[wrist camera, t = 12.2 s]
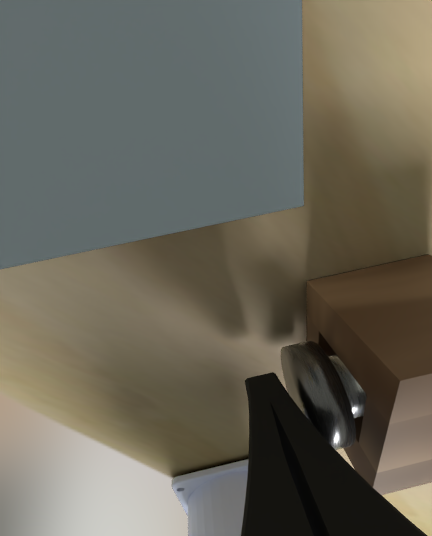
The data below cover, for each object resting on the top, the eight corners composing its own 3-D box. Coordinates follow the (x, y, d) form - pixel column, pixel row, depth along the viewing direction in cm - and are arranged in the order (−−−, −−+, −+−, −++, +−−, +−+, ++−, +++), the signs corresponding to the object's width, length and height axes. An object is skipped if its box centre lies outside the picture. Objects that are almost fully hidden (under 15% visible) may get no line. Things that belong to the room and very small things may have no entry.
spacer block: (227, 169, 9) (304, 205, 3) (114, 192, 8) (-1, 269, 3) (206, 16, 7) (296, -474, 1) (61, 42, 7) (-432, -387, 1)
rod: (432, 350, 13) (524, 424, 10) (282, 385, 13) (321, 475, 9) (452, 288, 11) (574, 352, 8) (278, 328, 11) (324, 412, 8)
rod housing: (402, 358, 15) (511, 462, 10) (307, 380, 15) (370, 497, 10) (428, 254, 12) (606, 331, 7) (306, 281, 11) (400, 381, 7)
